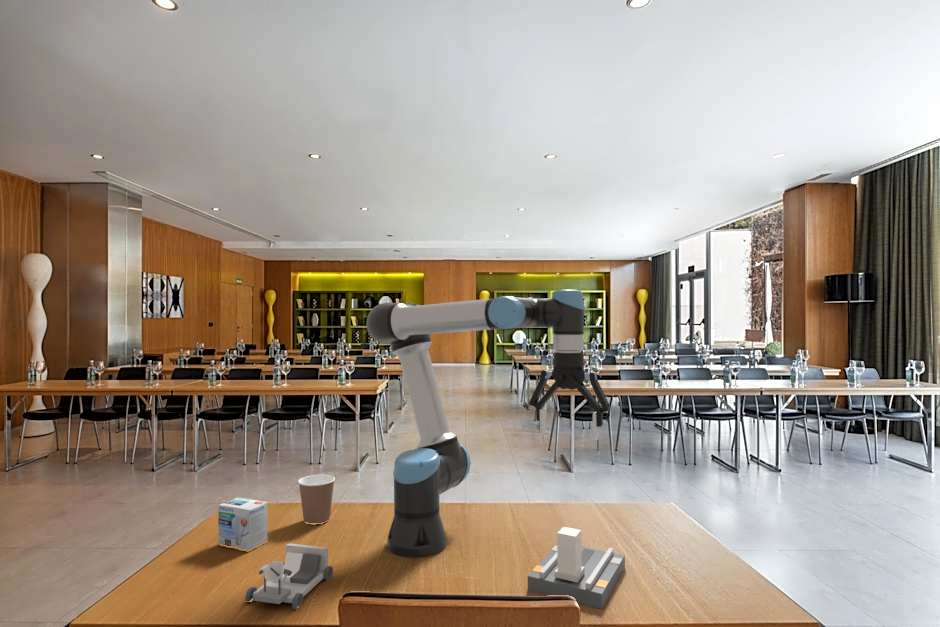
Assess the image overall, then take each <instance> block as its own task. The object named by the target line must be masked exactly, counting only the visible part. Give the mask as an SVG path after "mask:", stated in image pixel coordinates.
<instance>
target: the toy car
mask: <svg viewBox="0 0 940 627" xmlns="http://www.w3.org/2000/svg"><path fill="white" fill-rule="evenodd" d="M285 546H286V547H285V559H284V561H283V562H282V561H280V560H274V561H272V562H270V563H269V564H264V565H263V566H262V567H260V568H259V572H258V574H259V575H263V585H261V586H260V587H259V588H257V587H255V586H251V587H249V588H248V589H247V591H246V592H245V602H246V601H250V600H251V599H252V598H253V602H262V603H269V604H276V605H280V604H281V603H288V604H291V608H292V609H293V608H294V609H293V610H295V609H297V607H298V606H300V605H301V604H302V605H303V602H304V597H305V596H306V595H308V594H309V592H310V591H312V589H314V588H315V586H317V585H318V584H319V583H320V582H321V581H322V580H323V581H329V580H330V579H331V578H332V577H333V574H334V567H333V566H332V565H329V548H328V547H325V546H318V545H317V546H315V545H306V544H299V543H297V544H296V543H287V544H286V545H285ZM297 610H298V609H297Z"/></svg>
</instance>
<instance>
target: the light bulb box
mask: <svg viewBox="0 0 940 627" xmlns="http://www.w3.org/2000/svg"><path fill="white" fill-rule="evenodd" d="M268 504H269V503H268V501H262V500H256V499H250V498H243V497H235V498H233V499H232V498H231V499H230V500H228V501H226V502H223V503H221V504H218V522H217V523H218V526H217V531H218V532H217V535H218V536H217V537H218V538H217V539H218V540H217V542H218V543H217V545H218V544H222V545H227V546H232V547H237V548H241V549H246V550H250V549H252V548H254V547H256V546H258V545H260V544H262V543H264V542H265V541H267V542H268V510H269V509H268Z"/></svg>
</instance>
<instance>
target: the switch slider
mask: <svg viewBox="0 0 940 627" xmlns="http://www.w3.org/2000/svg"><path fill="white" fill-rule="evenodd" d="M556 536H557V538H556V539H557V540H556V543H557V564H558V568H557V569H556V570H555V571H554V572H555V577H556V578H560V579H564V580H568V581H573V582H577V583H578V581H579V580H580V578H581V577H582V576H583V574H584V573H585V567H582V551H581V546H582V529H579V528H578V529H577V528H574V527H573V528H572V527H567V526H562V528H560V530H559V531H557V534H556Z"/></svg>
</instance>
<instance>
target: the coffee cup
mask: <svg viewBox="0 0 940 627" xmlns="http://www.w3.org/2000/svg"><path fill="white" fill-rule="evenodd" d="M335 480H336V478H335V476H333V475H330V474H313V475H312V474H311V475H307V476H304V477H301V478H299V479H298V480H297V483H298V484H299V493H300V500H301V511H302V517H303V518H302V519H303V522H304V521H305V522H308V523H322V522H325V521H327V520H329V521H330V517H331V511H332V502H333V492H334V484H335V482H334V481H335ZM305 522H304V523H305Z"/></svg>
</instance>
